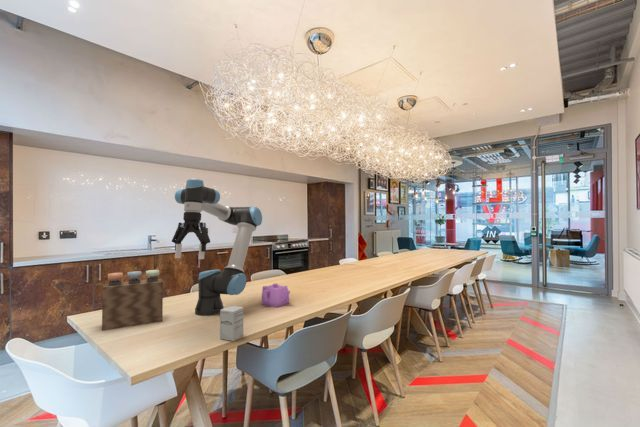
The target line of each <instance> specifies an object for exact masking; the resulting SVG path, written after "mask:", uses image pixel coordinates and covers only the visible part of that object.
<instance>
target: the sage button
mask: <svg viewBox="0 0 640 427" xmlns="http://www.w3.org/2000/svg"><path fill="white" fill-rule="evenodd" d="M158 276H160V270H159V269H150V270H149V269H148V270H145V277H149V278H150V279H154V278H155V277H158Z"/></svg>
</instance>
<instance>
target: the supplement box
mask: <svg viewBox="0 0 640 427" xmlns="http://www.w3.org/2000/svg"><path fill="white" fill-rule="evenodd" d="M244 309H245V308H244V307H241V306H234V305H229V306H226V307H224V309H221V310H220V313H219V339H220V340H226V341H232V342H234V341H237V340H238V339H240V338H242V337H243V336H244Z"/></svg>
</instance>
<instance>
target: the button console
mask: <svg viewBox="0 0 640 427" xmlns="http://www.w3.org/2000/svg"><path fill="white" fill-rule="evenodd" d="M163 290H164V281H163V278H158V276H155V278H154V279H150V277H147V278H146V279H143V280H141V278H137V280H132V278H128V281H122V279H118V282H112V280H109V282H108V283H105V284H104V285H103V286H102V299H101V300H102V305H101V306H102V308H101V309H102V310H101V312H102V313H101V315H102V316H101V317H102V318H101V331H107V330H116V329H121V328H122V329H123V328H127V327H132V326H133V327H134V326H140V325H146V324H147V325H148V324H154V323H159V322H163V314H164V312H163V311H164V310H163V306H164V305H163V303H164V302H163V301H164V300H163V299H164V298H163V297H164V296H163V292H164V291H163Z"/></svg>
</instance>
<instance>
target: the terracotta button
mask: <svg viewBox="0 0 640 427" xmlns="http://www.w3.org/2000/svg"><path fill="white" fill-rule="evenodd" d="M123 275H124V274H123V272H112V273H111V272H110V273H107V280H109V281H112V282H118V280H122V279H123V278H124V277H123Z"/></svg>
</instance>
